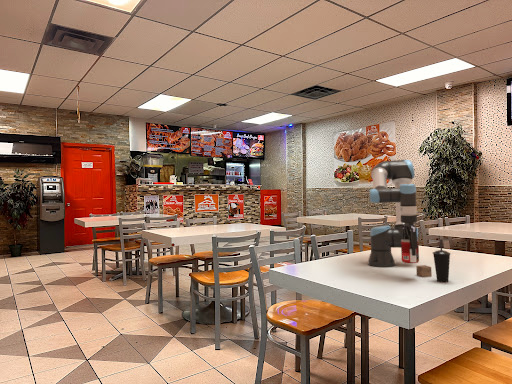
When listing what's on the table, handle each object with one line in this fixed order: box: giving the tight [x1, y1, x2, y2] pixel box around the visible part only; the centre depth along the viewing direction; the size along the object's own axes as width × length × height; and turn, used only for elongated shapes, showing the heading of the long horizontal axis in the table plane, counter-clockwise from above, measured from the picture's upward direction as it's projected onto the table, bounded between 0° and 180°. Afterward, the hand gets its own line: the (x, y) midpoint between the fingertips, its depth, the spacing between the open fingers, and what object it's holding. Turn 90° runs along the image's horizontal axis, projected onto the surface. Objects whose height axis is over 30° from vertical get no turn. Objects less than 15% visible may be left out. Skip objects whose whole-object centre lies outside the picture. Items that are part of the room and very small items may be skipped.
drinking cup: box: [432, 239, 451, 283], centre depth 171 cm, size 8×8×20 cm
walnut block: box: [415, 264, 433, 278], centre depth 183 cm, size 5×5×5 cm
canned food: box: [400, 239, 420, 264], centre depth 177 cm, size 8×8×11 cm
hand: (410, 260), depth 177 cm, fingers closed on canned food, 8 cm apart
